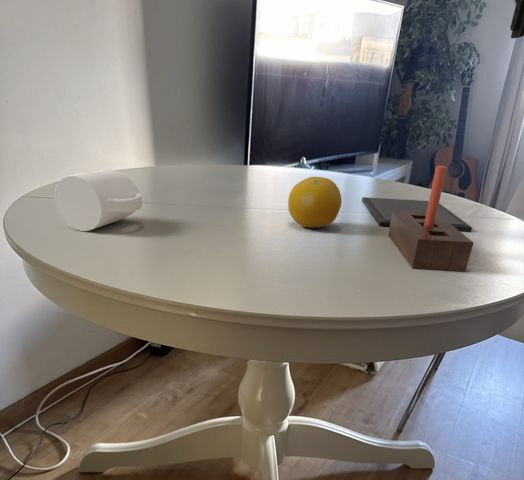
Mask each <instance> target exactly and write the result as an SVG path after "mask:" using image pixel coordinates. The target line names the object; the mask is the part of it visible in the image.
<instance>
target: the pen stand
mask: <svg viewBox="0 0 524 480" xmlns="http://www.w3.org/2000/svg"><path fill="white" fill-rule="evenodd" d="M425 217H426V213H425V212H407V211H393V212H392V217H391V223H390V227H389V229H388V234H387V235H388V237H389V238H390V240H391V241H392V242H393V244H394V245H395V247H396V248H397V249H398V251H399V252H400V253H401V254H402V256H403V257H404V259H405V261H407V263H408V264H409V266H410V267H411V269H419V270H432V271H433V270H434V271H449V272H450V271H451V272H464V273H465V272H467V268H468V264H469V261H470V258H471V253H472V249H473V246H474V241H472V240H471V239H470V238H469V237H467V236H466V235H465V234H464V233H463V232H462V231H459V230H457V229H456V228H455V227H454V226H452V225H451V224H450V223H449V222H447V221H446V220H445V219H444V218H443V217H441V216H440V215H439V214H438V213H437V214H436V219H435V223H434V227H424V222H425Z"/></svg>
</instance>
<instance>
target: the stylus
mask: <svg viewBox="0 0 524 480" xmlns="http://www.w3.org/2000/svg"><path fill="white" fill-rule="evenodd" d="M447 169H448V167H447V166H445V165H436V166H435V171H434V175H433V181H432V185H431V189H430V194H429V199H428V201H429V203H428V208H427V213H426V217H425V222H424V227H434V223H435V219H436V214H437V210H438V205H439V204H440V201H441V200H440V199H441V195H442V191H443V187H444V183H445V182H444V181H445V179H446V174H447Z"/></svg>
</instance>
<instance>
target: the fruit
mask: <svg viewBox="0 0 524 480" xmlns="http://www.w3.org/2000/svg"><path fill="white" fill-rule="evenodd" d="M342 204H343V203H342V194H341V191H340V189H339V187H338V186H337V185H336V183H335V182H334V181H333V180H332V179H329V178H326V177H323V176H310V177H309V176H308V177H307V178H305V179H303V180H301V181H299V182H297V183H296V184H295V185H294V186H293V188H292V189H291V190H290V192H289V195H288V201H287V205H288V206H287V208H288V211H289V215H290V217H291V218H292V219H293V220H294V222H296V223H297V224H298V225H300V226H302V227H304V228H309V229H319V228H322V227H323V228H324V227H326V226H328V225H331V224H332V223H333V222H334V221H335V220H336V219H337V217H338V215H339V213H340V210H341V208H342Z"/></svg>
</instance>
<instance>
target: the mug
mask: <svg viewBox="0 0 524 480" xmlns="http://www.w3.org/2000/svg"><path fill="white" fill-rule="evenodd" d="M54 204H55V207H56V210H57V213H58V215H59V217H60V218H61V219H62V220H63V221H64V222H65V224H66V225H68V226H69V227H71V228H72V229H74V230H76V231H80V232H89V231H92V230H96V229H97V228H101V227H103V226H107V225H109V224H112V223H116V222H118V221H121V220H123V219H126V218H128V217H129V216H131V215H132V214H134V213H135V212H136V211H138V210H139V209H141V208H142V207H143V196H142V194H141V193H140V192H139V188H138V187H137V185H136V183H135V182H134V181H133V180H132V179H131V178H130V177H129V176H128V175H126V174H125V173H123V172H121V171H119V170H117V169H112V168H105V169H104V168H103V169H100V170H95V171H83V172H79V173H75V174H71V175H67V176H64V177H63V178H61V179H60V180H59V181H58V183H57V184H56V186H55V190H54Z"/></svg>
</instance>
